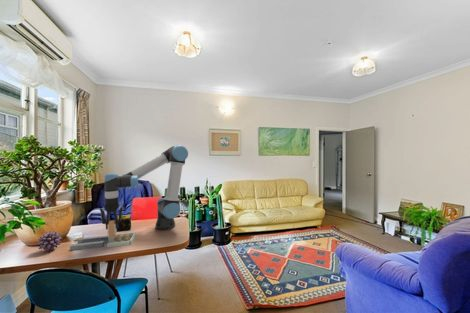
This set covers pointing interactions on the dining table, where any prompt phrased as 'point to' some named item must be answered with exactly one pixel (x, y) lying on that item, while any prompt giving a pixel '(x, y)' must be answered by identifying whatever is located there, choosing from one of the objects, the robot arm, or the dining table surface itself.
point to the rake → (111, 231)
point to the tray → (123, 241)
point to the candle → (124, 223)
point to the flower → (49, 240)
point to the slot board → (90, 243)
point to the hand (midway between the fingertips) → (112, 233)
